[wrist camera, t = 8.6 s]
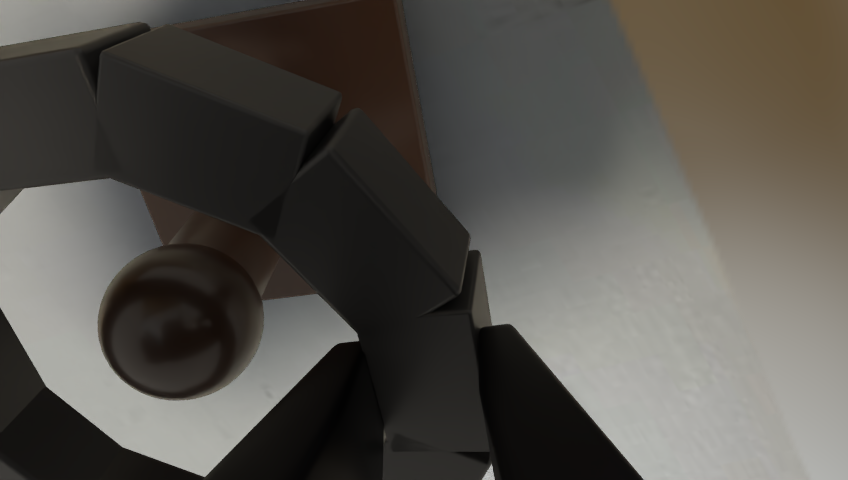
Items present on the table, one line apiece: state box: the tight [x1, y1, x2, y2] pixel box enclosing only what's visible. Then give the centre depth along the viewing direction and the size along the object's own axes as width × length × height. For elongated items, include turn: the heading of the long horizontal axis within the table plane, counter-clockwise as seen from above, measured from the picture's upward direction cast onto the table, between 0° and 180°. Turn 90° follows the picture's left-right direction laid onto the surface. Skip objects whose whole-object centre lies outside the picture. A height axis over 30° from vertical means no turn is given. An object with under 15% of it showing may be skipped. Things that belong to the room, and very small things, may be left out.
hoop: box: [0, 22, 492, 480], centre depth 9 cm, size 9×9×1 cm
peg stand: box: [98, 0, 437, 401], centre depth 13 cm, size 7×7×8 cm
